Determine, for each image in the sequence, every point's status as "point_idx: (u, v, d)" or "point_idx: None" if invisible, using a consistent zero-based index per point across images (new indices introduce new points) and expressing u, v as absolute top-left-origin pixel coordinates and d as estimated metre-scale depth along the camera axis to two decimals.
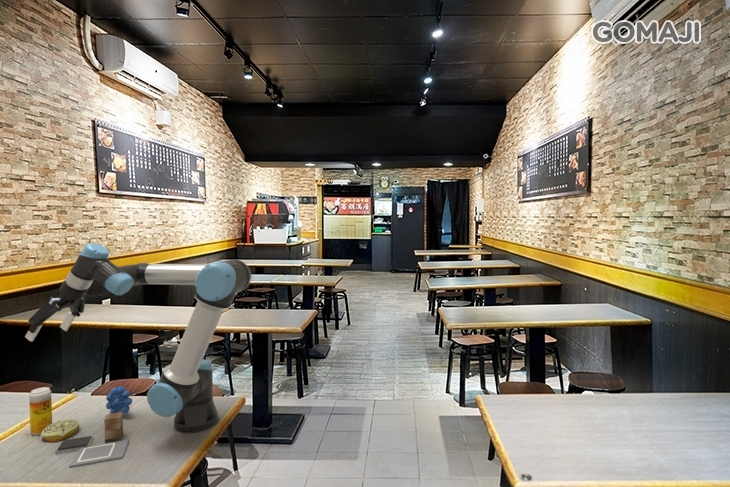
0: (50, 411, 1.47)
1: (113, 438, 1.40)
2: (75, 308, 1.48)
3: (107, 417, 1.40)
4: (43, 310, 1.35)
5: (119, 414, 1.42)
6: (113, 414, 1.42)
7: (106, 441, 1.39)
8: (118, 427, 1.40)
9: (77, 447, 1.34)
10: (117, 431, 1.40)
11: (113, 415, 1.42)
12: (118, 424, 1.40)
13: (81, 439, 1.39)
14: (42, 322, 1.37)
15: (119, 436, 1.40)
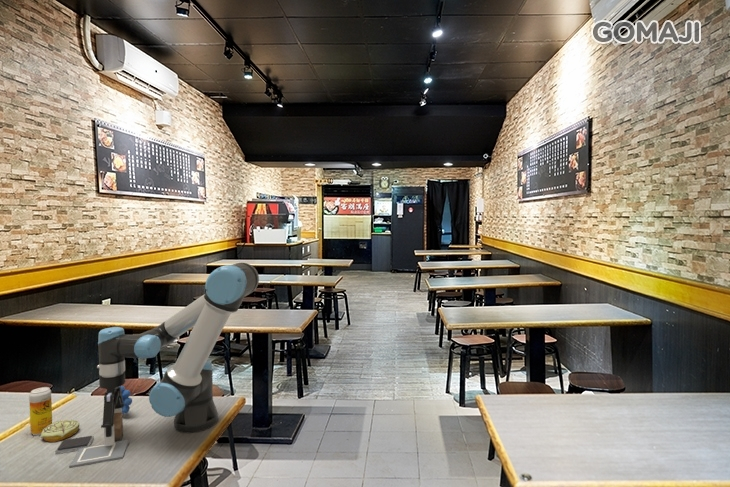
0: (50, 411, 1.47)
1: None
2: (119, 399, 1.46)
3: None
4: (108, 409, 1.34)
5: (119, 414, 1.42)
6: None
7: None
8: (118, 427, 1.40)
9: (77, 447, 1.34)
10: (117, 431, 1.40)
11: None
12: (118, 424, 1.40)
13: (81, 439, 1.39)
14: None
15: (119, 436, 1.40)
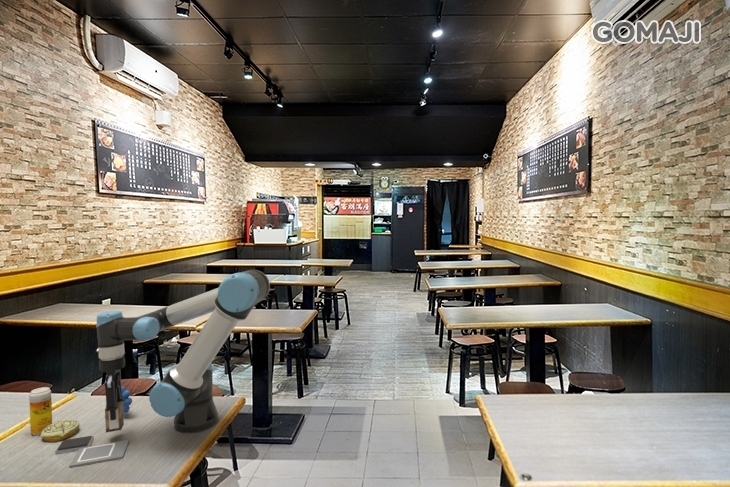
0: (50, 411, 1.47)
1: None
2: (119, 388, 1.44)
3: None
4: (110, 395, 1.35)
5: (119, 403, 1.42)
6: None
7: (107, 430, 1.39)
8: (119, 416, 1.40)
9: (77, 447, 1.34)
10: None
11: None
12: (119, 413, 1.40)
13: (81, 439, 1.39)
14: (116, 404, 1.39)
15: (120, 425, 1.40)
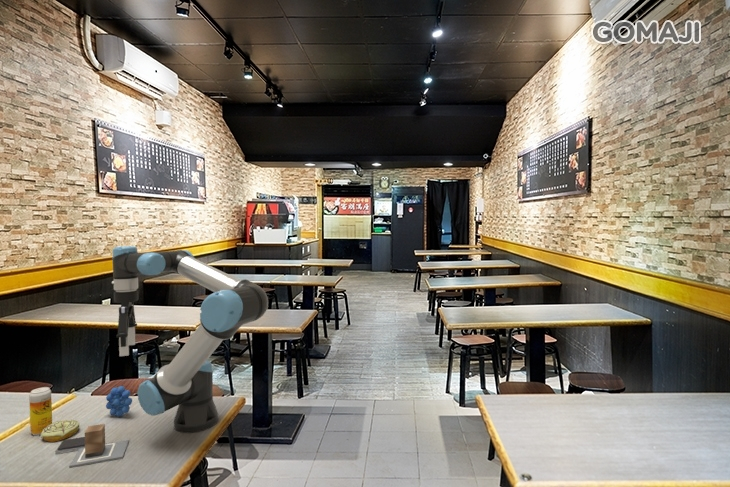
0: (50, 411, 1.47)
1: (94, 452, 1.30)
2: (133, 317, 1.51)
3: (87, 429, 1.30)
4: (122, 320, 1.39)
5: (101, 426, 1.32)
6: (95, 426, 1.32)
7: (86, 456, 1.29)
8: (99, 440, 1.30)
9: (77, 447, 1.34)
10: (98, 445, 1.30)
11: (94, 427, 1.32)
12: (99, 437, 1.30)
13: (81, 439, 1.39)
14: (127, 332, 1.40)
15: (101, 450, 1.30)
